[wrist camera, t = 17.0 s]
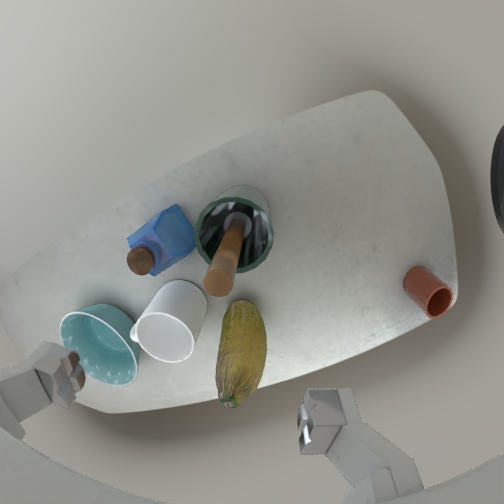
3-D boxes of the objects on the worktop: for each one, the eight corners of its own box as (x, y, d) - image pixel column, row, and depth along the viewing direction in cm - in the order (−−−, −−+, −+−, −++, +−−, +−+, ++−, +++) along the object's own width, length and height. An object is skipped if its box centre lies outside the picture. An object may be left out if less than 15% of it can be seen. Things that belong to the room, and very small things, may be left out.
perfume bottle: (176, 203, 38) (143, 222, 27) (200, 239, 40) (177, 271, 28) (145, 226, 39) (105, 252, 28) (168, 260, 41) (137, 296, 29)
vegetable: (249, 283, 42) (241, 377, 23) (274, 311, 43) (282, 410, 24) (219, 304, 43) (194, 400, 24) (244, 330, 44) (235, 429, 25)
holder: (431, 267, 40) (457, 286, 32) (423, 295, 42) (445, 318, 34) (407, 264, 40) (432, 285, 32) (399, 294, 42) (420, 318, 34)
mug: (155, 332, 45) (134, 369, 36) (132, 292, 43) (104, 324, 33) (216, 316, 44) (205, 357, 34) (195, 271, 41) (176, 305, 32)
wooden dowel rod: (254, 203, 37) (246, 261, 16) (252, 226, 38) (242, 309, 17) (231, 201, 37) (192, 255, 16) (229, 224, 38) (191, 303, 17)
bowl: (133, 371, 49) (118, 398, 41) (73, 324, 46) (52, 347, 38) (168, 328, 45) (153, 357, 37) (97, 272, 42) (71, 293, 34)
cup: (271, 187, 37) (277, 200, 25) (266, 239, 39) (268, 277, 27) (217, 182, 37) (196, 193, 25) (214, 234, 39) (193, 269, 27)
